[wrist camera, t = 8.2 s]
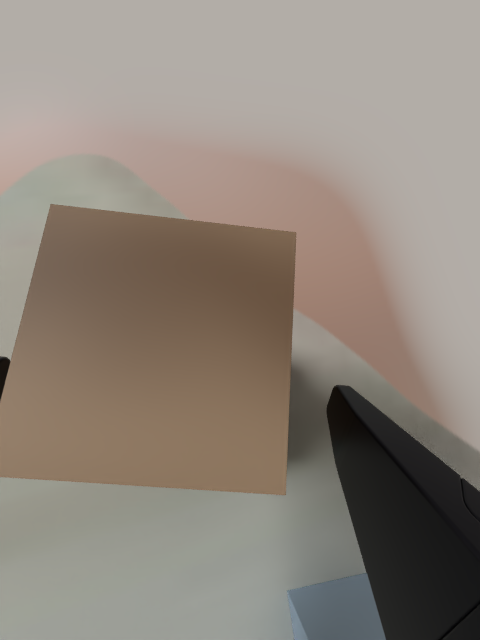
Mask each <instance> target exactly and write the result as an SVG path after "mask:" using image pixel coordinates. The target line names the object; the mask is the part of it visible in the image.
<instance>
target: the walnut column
mask: <svg viewBox="0 0 480 640" xmlns="http://www.w3.org/2000/svg"><path fill="white" fill-rule="evenodd" d="M295 252H296V232H288V231H279V230H271V229H262V228H254V227H245V226H235V225H227V224H219V223H210V222H202V221H193V220H184V219H176V218H167V217H158V216H150V215H141V214H132V213H124V212H115V211H106V210H98V209H89V208H80V207H72V206H63V205H54V204H51V205H50V209H49V213H48V217H47V221H46V225H45V229H44V232H43V236H42V240H41V244H40V248H39V252H38V256H37V260H36V264H35V268H34V272H33V276H32V279H31V283H30V287H29V291H28V295H27V299H26V303H25V307H24V311H23V315H22V319H21V322H20V326H19V330H18V334H17V338H16V342H15V346H14V350H13V354H12V358H11V362H10V366H9V369H8V373H7V377H6V381H5V385H4V389H3V393H2V397H1V401H0V477H9V478H25V479H41V480H56V481H72V482H88V483H103V484H119V485H135V486H150V487H166V488H182V489H197V490H213V491H229V492H244V493H260V494H276V495H286V474H287V449H288V424H289V400H290V375H291V350H292V326H293V299H294V276H295V275H294V274H295Z"/></svg>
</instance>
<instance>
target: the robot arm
mask: <svg viewBox="0 0 480 640" xmlns="http://www.w3.org/2000/svg"><path fill="white" fill-rule="evenodd" d="M9 366H10V360H9V359H8V358H7V357H1V356H0V401H1V397H2V393H3V389H4V385H5V381H6V377H7V373H8V369H9ZM327 418H328V424H329V430H330V435H331V441H332V447H333V453H334V458H335V463H336V467H337V471H338V475H339V478H340V482H341V485H342V489H343V492H344V495H345V499H346V502H347V506H348V509H349V513H350V516H351V520H352V523H353V527H354V530H355V534H356V537H357V541H358V544H359V548H360V551H361V555H362V558H363V562H364V565H365V569H366V572H367V575H368V579H369V582H370V586H371V589H372V593H373V596H374V600H375V603H376V607H377V610H378V614H379V617H380V621H381V624H382V628H383V631H384V635H385V638H386V640H480V491H478V490H477V489H476V488H475V487H473V486H472V485H471V484H470V483H468V482H467V481H466V480H465V479H463V478H460V475H459V474H457V473H456V472H455V471H454V470H452V469H451V468H450V467H449V466H447V465H446V464H445V463H444V462H443V461H441V460H440V459H439V458H438V457H436V456H435V455H434V454H433V453H431V452H430V451H429V450H428V449H427V448H425V447H424V446H423V445H422V444H420V443H419V442H418V441H417V440H415V439H414V438H413V437H412V436H410V435H409V434H408V433H407V432H406V431H404V430H403V429H402V428H401V427H399V426H398V425H397V424H396V423H394V422H393V421H392V420H391V419H390V418H388V417H387V416H386V415H385V414H383V413H382V412H381V411H380V410H378V409H377V408H376V407H375V406H374V405H372V404H371V403H370V402H369V401H367V400H366V399H365V398H364V397H362V396H361V395H360V394H359V393H358V392H356V391H355V390H354V389H353V388H351V387H350V386H345V385H336V386H334V388H333V390H332V393H331V396H330V399H329V402H328V405H327Z"/></svg>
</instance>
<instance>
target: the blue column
mask: <svg viewBox="0 0 480 640" xmlns="http://www.w3.org/2000/svg"><path fill="white" fill-rule="evenodd" d="M287 592H288V599H289V606H290V613H291V619H292V626H293V633H294V640H386V638H385V635H384V631H383V628H382V624H381V621H380V617H379V614H378V610H377V607H376V603H375V600H374V596H373V593H372V589H371V586H370V582H369V579H368V575H367V573H364V574H359V575H355V576H350V577H346V578H341V579H337V580H332V581H328V582H324V583H319V584H315V585H310V586H306V587H301V588H297V589H292V590H288V591H287Z"/></svg>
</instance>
